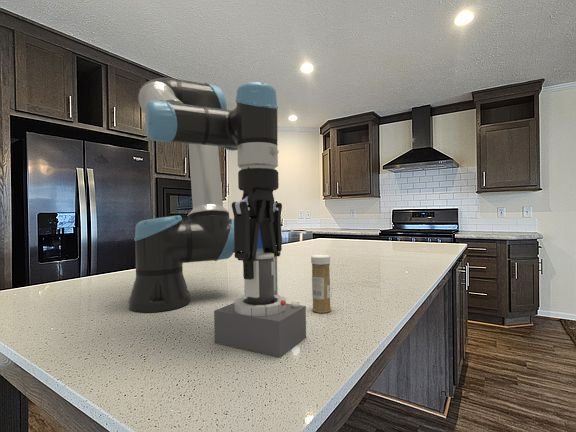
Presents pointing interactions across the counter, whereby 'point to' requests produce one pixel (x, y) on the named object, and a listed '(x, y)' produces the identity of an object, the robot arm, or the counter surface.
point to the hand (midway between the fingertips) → (260, 293)
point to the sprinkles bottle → (321, 283)
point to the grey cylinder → (264, 280)
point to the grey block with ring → (261, 326)
